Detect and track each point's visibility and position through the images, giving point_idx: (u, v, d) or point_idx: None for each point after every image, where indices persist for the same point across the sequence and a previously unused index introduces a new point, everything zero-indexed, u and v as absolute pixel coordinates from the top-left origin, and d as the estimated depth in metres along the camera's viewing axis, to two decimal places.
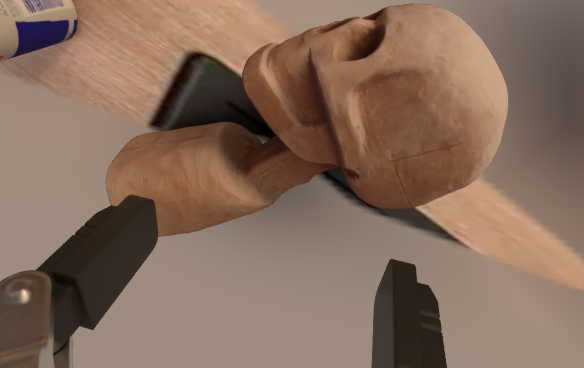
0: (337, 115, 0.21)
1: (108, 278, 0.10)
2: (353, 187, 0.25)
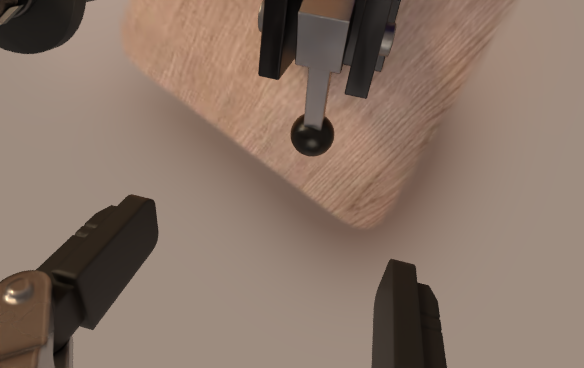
0: None
1: (108, 278, 0.10)
2: None
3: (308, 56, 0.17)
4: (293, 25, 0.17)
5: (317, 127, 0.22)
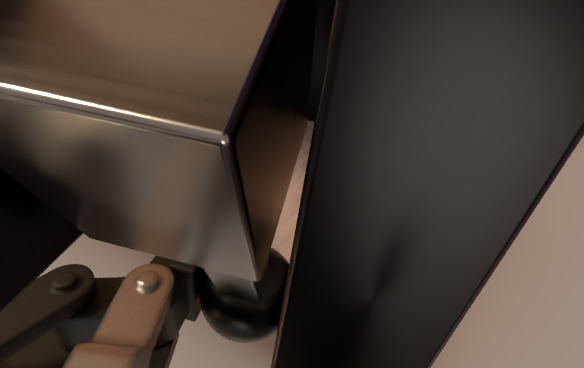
0: None
1: None
2: None
3: (111, 229, 0.04)
4: None
5: (249, 300, 0.09)
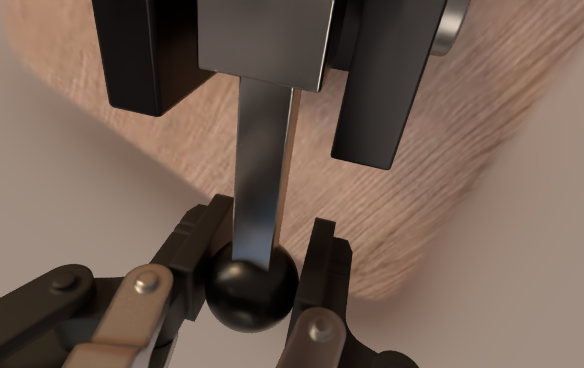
0: None
1: None
2: None
3: (230, 34, 0.06)
4: None
5: (260, 264, 0.10)
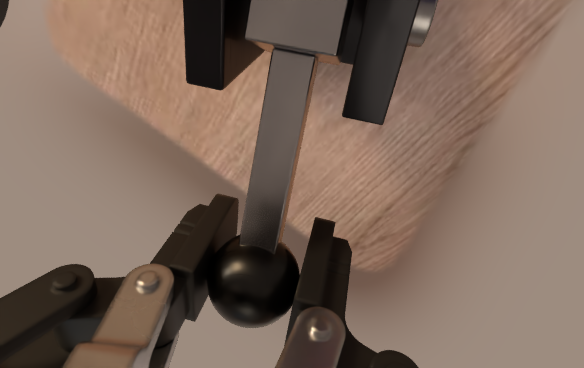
0: None
1: None
2: None
3: (274, 12, 0.08)
4: None
5: (268, 245, 0.10)
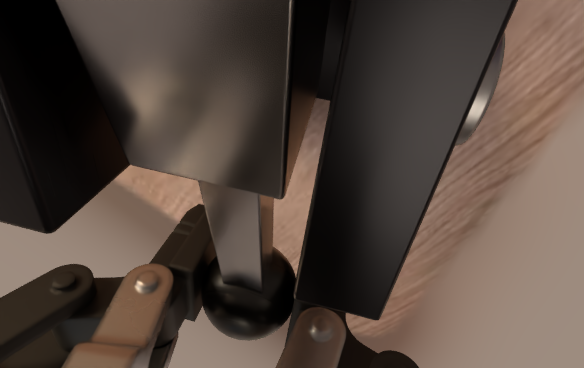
0: None
1: None
2: None
3: (158, 140, 0.04)
4: None
5: (253, 288, 0.09)
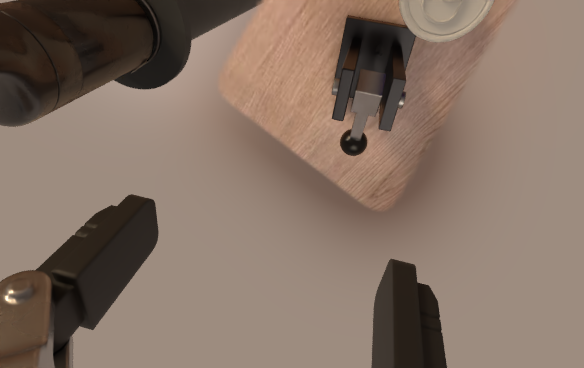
0: None
1: (108, 279, 0.10)
2: None
3: (358, 108, 0.31)
4: None
5: (357, 139, 0.37)
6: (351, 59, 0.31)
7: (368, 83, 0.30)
